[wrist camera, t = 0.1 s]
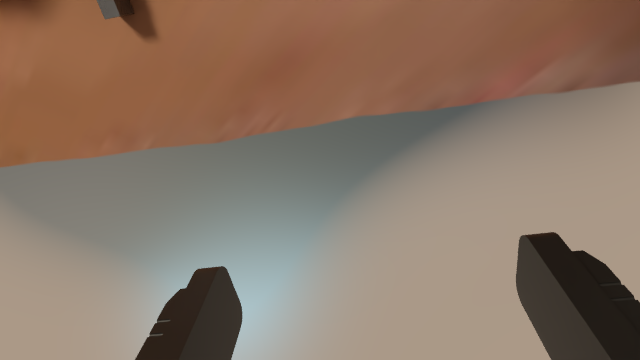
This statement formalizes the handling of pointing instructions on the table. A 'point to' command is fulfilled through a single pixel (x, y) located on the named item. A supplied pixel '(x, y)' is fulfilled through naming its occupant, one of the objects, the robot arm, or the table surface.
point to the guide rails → (115, 8)
